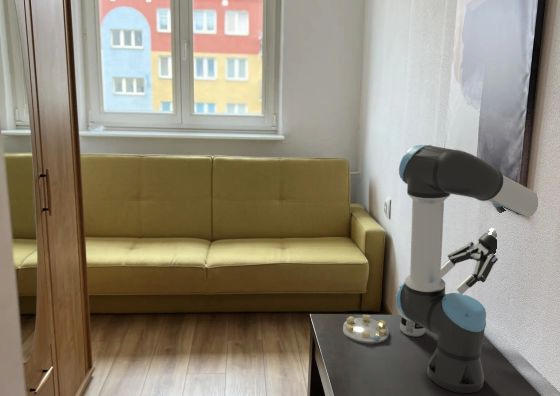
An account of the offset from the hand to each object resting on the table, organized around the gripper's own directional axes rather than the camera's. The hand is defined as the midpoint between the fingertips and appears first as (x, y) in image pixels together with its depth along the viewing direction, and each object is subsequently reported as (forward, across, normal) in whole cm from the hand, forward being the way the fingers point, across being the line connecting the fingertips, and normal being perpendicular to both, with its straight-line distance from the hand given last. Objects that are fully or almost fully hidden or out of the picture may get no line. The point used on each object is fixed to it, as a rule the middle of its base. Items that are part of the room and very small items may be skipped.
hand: (447, 283), depth 162 cm
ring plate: (+31, +1, +7) cm, 32 cm away
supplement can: (+20, 0, -4) cm, 20 cm away
